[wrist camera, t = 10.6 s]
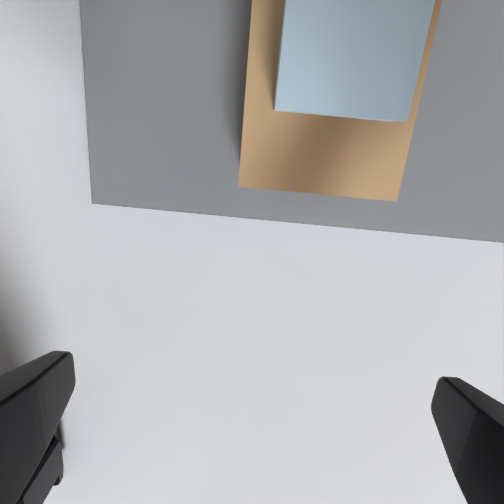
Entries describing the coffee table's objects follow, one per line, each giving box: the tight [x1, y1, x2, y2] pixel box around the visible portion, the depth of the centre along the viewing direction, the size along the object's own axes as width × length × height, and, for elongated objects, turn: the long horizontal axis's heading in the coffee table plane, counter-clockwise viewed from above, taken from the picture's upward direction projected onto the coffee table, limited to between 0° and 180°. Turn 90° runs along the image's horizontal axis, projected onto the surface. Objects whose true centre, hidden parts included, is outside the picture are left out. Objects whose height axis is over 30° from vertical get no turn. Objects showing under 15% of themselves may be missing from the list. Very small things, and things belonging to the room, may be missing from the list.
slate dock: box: [79, 0, 504, 243], centre depth 16 cm, size 20×14×2 cm
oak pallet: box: [238, 0, 442, 201], centre depth 13 cm, size 6×10×3 cm, turn 175°
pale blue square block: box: [273, 0, 435, 122], centre depth 11 cm, size 4×4×2 cm
